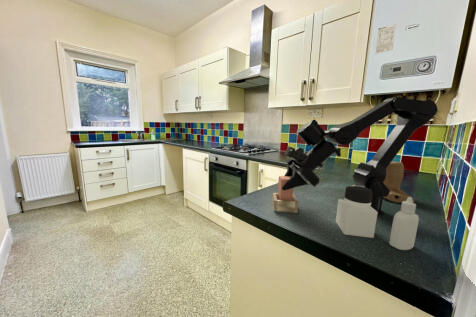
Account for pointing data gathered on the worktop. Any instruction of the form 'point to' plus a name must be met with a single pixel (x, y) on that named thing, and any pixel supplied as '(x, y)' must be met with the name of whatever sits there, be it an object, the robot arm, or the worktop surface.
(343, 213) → the medicine bottle
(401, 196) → the brown angle bracket
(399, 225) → the eye dropper bottle
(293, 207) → the birch collar
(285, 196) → the red peg
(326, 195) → the worktop surface
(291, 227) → the worktop surface
